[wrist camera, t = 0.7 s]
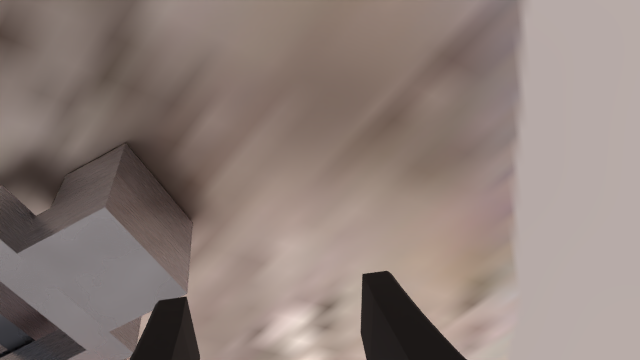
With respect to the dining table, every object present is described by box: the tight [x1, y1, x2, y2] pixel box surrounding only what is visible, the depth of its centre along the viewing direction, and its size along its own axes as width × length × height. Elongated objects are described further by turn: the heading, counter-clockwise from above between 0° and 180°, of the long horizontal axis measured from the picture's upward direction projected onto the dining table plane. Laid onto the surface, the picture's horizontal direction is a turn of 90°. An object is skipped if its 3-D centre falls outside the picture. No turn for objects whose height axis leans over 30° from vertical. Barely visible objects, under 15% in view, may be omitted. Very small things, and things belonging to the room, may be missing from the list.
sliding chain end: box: [0, 143, 193, 360], centre depth 19 cm, size 11×7×4 cm
